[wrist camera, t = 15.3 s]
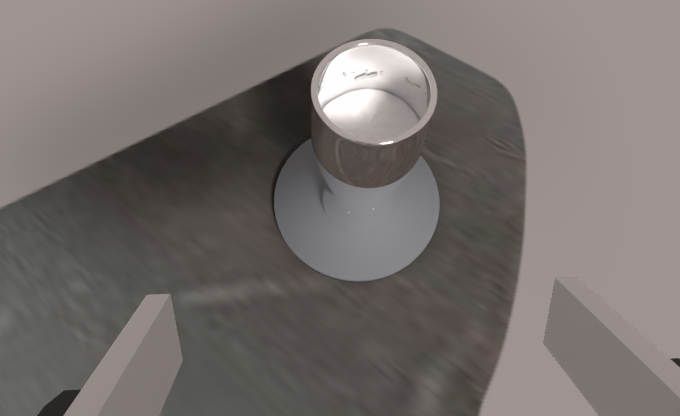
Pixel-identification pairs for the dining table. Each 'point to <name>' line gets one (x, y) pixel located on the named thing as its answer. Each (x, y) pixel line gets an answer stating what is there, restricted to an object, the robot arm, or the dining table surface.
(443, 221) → the dining table surface
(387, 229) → the mat
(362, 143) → the beer glass
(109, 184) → the dining table surface
